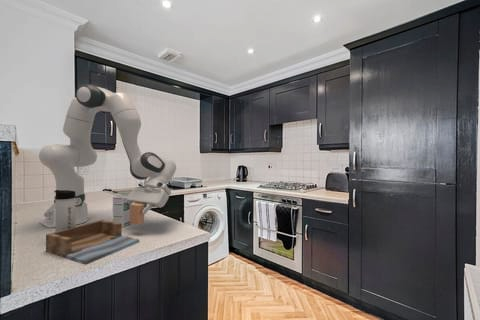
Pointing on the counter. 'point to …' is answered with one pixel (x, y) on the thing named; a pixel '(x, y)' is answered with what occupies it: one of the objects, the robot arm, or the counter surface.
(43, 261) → the counter surface
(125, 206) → the syrup box
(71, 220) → the travel mug
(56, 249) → the crate
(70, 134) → the robot arm
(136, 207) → the terracotta block
